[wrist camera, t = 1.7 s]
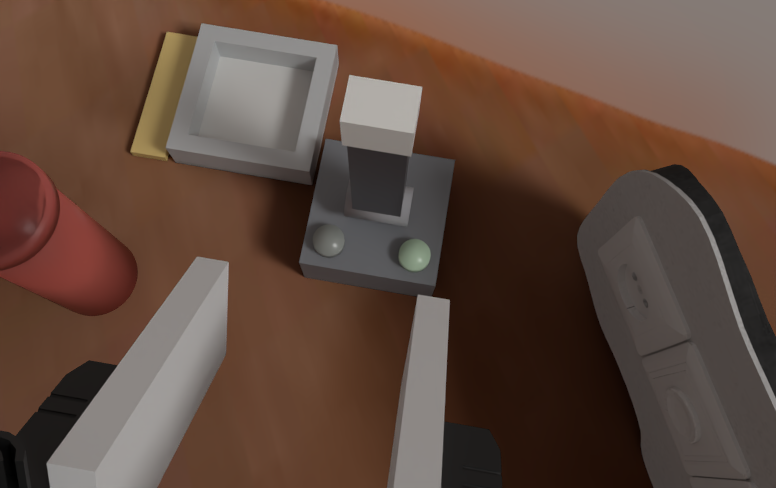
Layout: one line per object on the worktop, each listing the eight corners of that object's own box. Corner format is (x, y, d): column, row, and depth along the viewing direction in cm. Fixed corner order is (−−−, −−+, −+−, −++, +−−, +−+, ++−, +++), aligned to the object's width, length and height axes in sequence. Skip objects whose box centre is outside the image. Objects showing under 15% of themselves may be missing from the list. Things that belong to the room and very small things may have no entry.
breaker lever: (344, 221, 35) (332, 121, 25) (351, 185, 36) (343, 72, 25) (406, 232, 35) (420, 135, 25) (412, 196, 36) (429, 86, 25)
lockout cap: (33, 281, 37) (-100, 214, 27) (98, 217, 39) (-5, 128, 28) (94, 337, 37) (-18, 291, 26) (159, 270, 38) (76, 200, 27)
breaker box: (304, 277, 38) (297, 259, 34) (329, 161, 40) (325, 133, 36) (430, 299, 38) (436, 283, 34) (448, 181, 40) (456, 155, 36)
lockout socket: (133, 155, 40) (121, 140, 38) (169, 36, 42) (159, 16, 40) (312, 185, 39) (309, 171, 37) (338, 64, 42) (337, 45, 40)
